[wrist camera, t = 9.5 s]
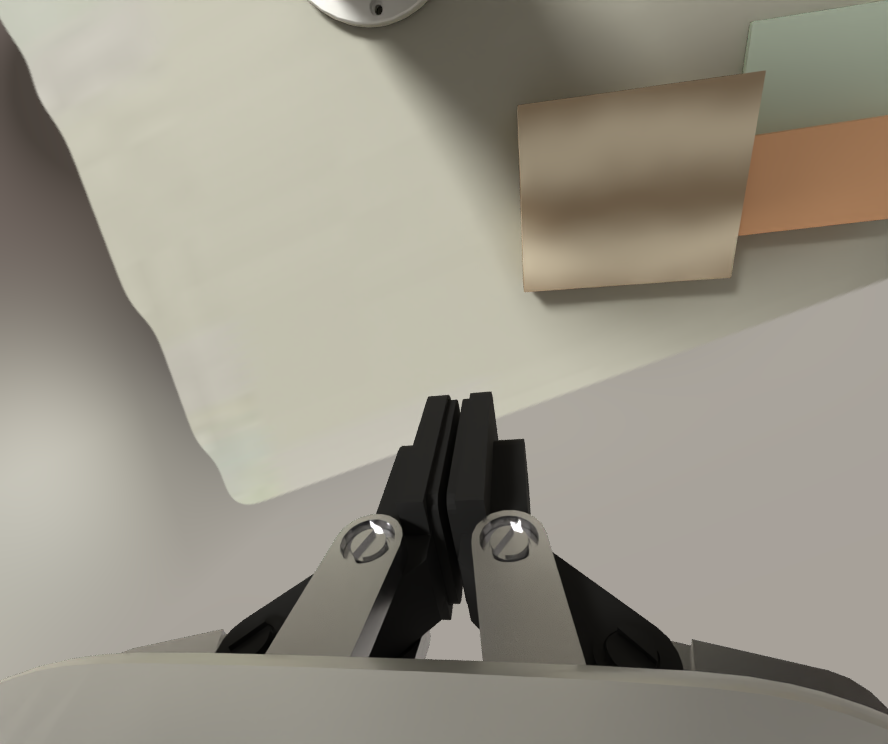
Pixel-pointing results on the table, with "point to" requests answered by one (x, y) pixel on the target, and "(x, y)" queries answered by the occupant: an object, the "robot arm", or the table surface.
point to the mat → (821, 66)
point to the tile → (817, 177)
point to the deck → (636, 183)
